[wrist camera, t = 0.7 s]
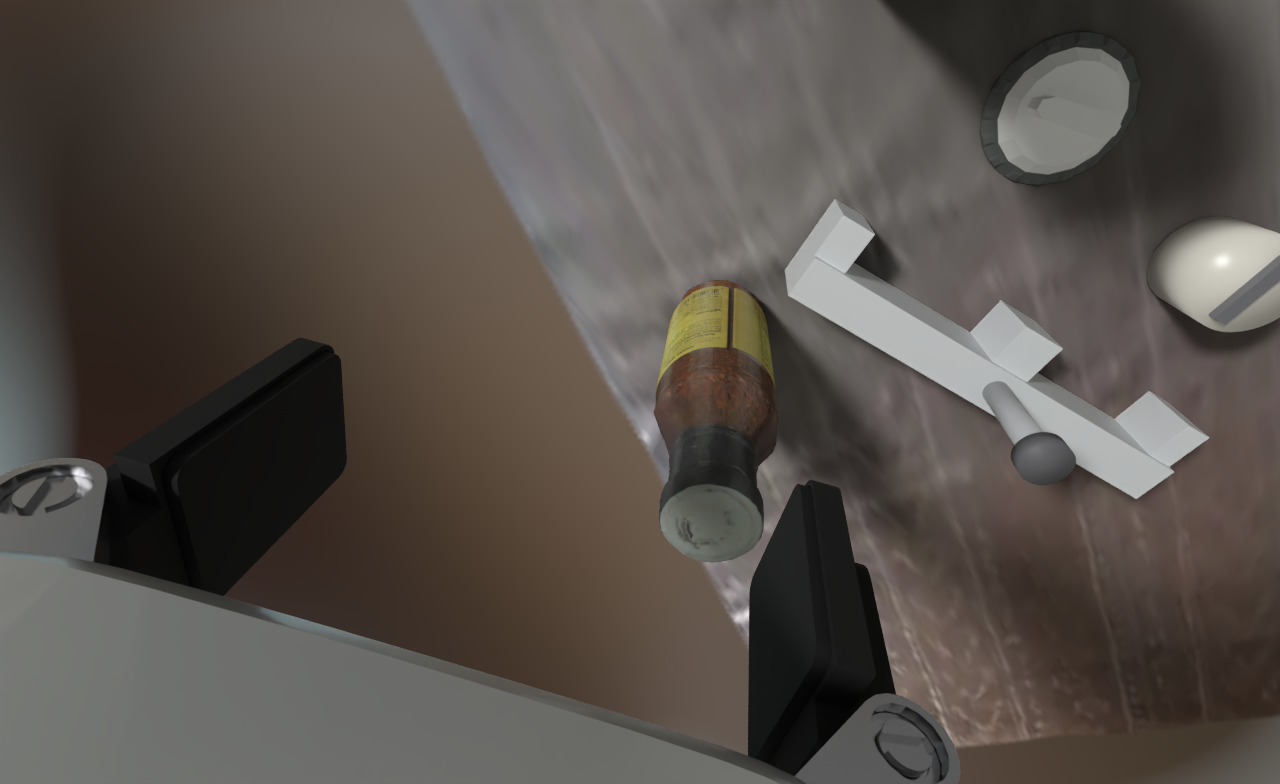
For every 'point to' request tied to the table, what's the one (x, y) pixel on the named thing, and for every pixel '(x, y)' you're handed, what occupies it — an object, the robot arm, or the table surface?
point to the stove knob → (1059, 108)
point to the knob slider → (1220, 273)
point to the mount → (989, 368)
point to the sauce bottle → (715, 421)
